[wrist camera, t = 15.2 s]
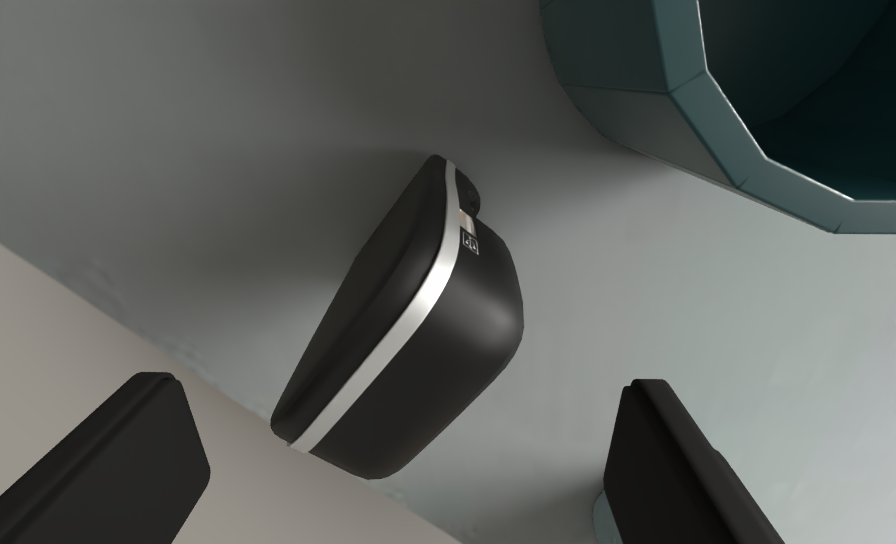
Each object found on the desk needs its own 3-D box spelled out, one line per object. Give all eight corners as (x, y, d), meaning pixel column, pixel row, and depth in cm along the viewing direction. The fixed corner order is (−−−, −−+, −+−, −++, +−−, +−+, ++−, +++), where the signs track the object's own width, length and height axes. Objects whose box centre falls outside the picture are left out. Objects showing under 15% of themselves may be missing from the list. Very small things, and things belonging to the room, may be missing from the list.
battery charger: (414, 305, 21) (377, 528, 11) (350, 263, 20) (241, 464, 10) (505, 198, 19) (570, 353, 8) (437, 144, 18) (414, 244, 7)
